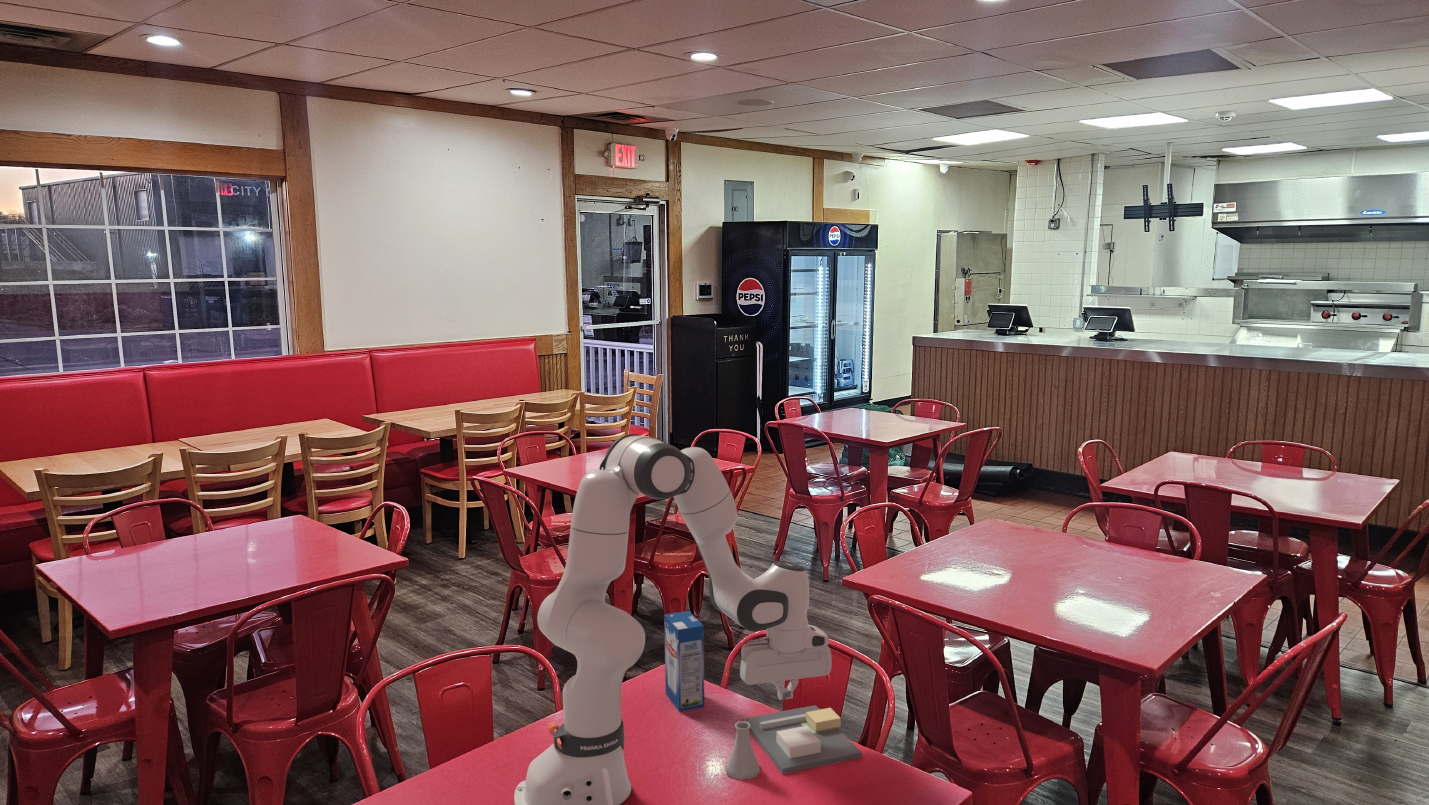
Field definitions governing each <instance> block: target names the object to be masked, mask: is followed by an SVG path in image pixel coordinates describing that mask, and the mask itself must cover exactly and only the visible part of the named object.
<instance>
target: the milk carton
mask: <svg viewBox="0 0 1429 805" xmlns="http://www.w3.org/2000/svg"><path fill="white" fill-rule="evenodd" d="M663 616H664V617H663V618H664V619H663V620H664V668H665V670H664V671H665V672H664V673H665V674H664V675H665V680H664V681H665V684H664V685H665V695H666V696H667V698H668V700H670V702H671V703H672V704H673V705H674V707H675V708H676V710H677V711H678V712H679V713H682V712H687V711H692V710H698V709H701V708H703V709H704V708H705V648H704V646H705V644H704V643H705V640H704V638H705V637H704V636H705V635H704V633H705V632H704V625H703V623H701V621H700V620H699V619H698V618H697V617H696V616H695V615H694V614H693V613H691V612H690V610H687V611H686V610H685V611H681V612H680V611H679V612H673V613H667V614H664V615H663Z"/></svg>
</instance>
